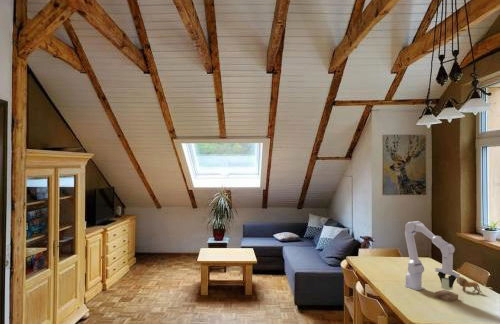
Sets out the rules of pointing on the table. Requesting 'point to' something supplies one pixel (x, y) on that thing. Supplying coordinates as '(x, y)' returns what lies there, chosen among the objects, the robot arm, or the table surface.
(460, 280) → the lion figurine
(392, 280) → the table surface
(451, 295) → the walnut block
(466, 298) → the table surface
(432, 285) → the table surface
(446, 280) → the sage block
